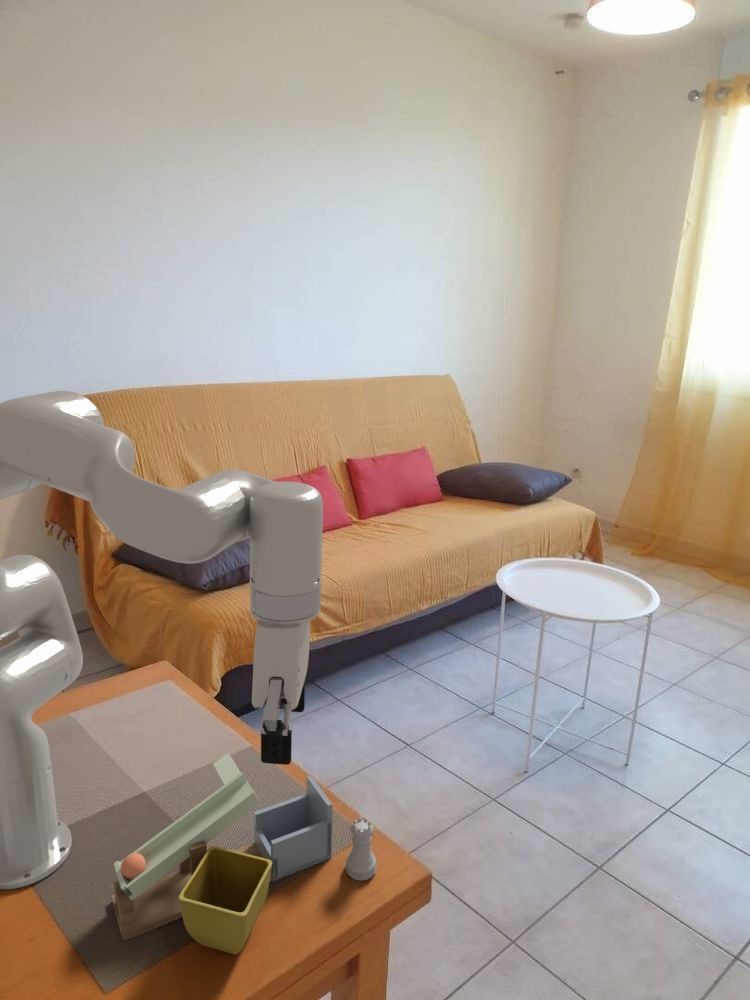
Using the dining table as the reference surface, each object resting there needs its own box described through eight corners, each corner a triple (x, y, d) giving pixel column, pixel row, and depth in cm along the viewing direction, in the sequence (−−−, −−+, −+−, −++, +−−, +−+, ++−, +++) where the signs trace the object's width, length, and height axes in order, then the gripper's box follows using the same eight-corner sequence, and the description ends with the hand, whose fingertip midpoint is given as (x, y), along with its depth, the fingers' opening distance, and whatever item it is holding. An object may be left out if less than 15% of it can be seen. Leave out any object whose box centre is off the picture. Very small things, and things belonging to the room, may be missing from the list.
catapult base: (112, 901, 95) (106, 840, 92) (254, 848, 105) (253, 790, 102) (123, 941, 89) (117, 877, 87) (272, 880, 99) (272, 821, 96)
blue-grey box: (254, 847, 105) (253, 794, 102) (310, 826, 109) (311, 775, 107) (273, 881, 99) (272, 825, 96) (331, 857, 104) (332, 804, 101)
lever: (113, 841, 99) (103, 829, 98) (231, 755, 105) (224, 743, 104) (131, 900, 90) (121, 889, 89) (260, 802, 96) (252, 790, 95)
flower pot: (244, 975, 86) (244, 916, 83) (178, 955, 88) (176, 897, 85) (272, 915, 94) (273, 860, 91) (211, 898, 96) (210, 844, 93)
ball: (123, 872, 93) (115, 857, 91) (146, 859, 94) (138, 843, 92) (129, 889, 90) (120, 873, 89) (151, 875, 91) (143, 859, 90)
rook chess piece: (358, 853, 105) (359, 807, 102) (383, 868, 102) (385, 821, 100) (338, 872, 101) (340, 825, 99) (364, 888, 99) (366, 840, 96)
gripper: (266, 564, 85) (266, 691, 90) (231, 633, 69) (233, 783, 74) (329, 569, 85) (325, 695, 90) (309, 638, 68) (305, 788, 73)
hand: (284, 734), depth 82 cm, fingers open, 9 cm apart
